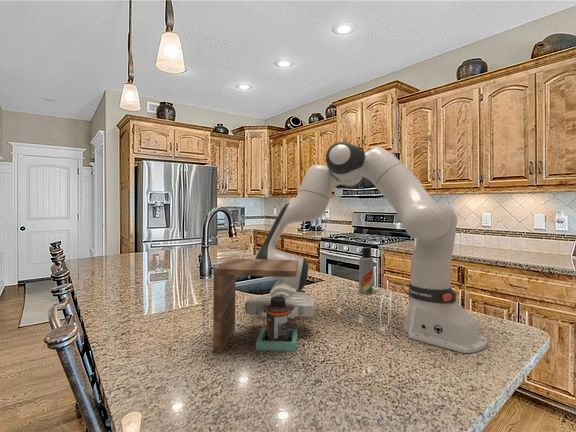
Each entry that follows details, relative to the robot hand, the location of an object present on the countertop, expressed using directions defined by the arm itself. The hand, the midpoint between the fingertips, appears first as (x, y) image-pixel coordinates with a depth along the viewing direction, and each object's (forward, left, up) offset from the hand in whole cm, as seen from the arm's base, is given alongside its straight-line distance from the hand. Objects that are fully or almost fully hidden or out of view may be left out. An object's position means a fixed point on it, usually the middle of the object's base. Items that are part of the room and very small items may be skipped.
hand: (277, 315), depth 92 cm
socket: (0, -1, -8) cm, 8 cm away
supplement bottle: (+1, -1, -7) cm, 7 cm away
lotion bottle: (+20, -62, -8) cm, 66 cm away
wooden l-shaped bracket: (+4, +3, -8) cm, 9 cm away
